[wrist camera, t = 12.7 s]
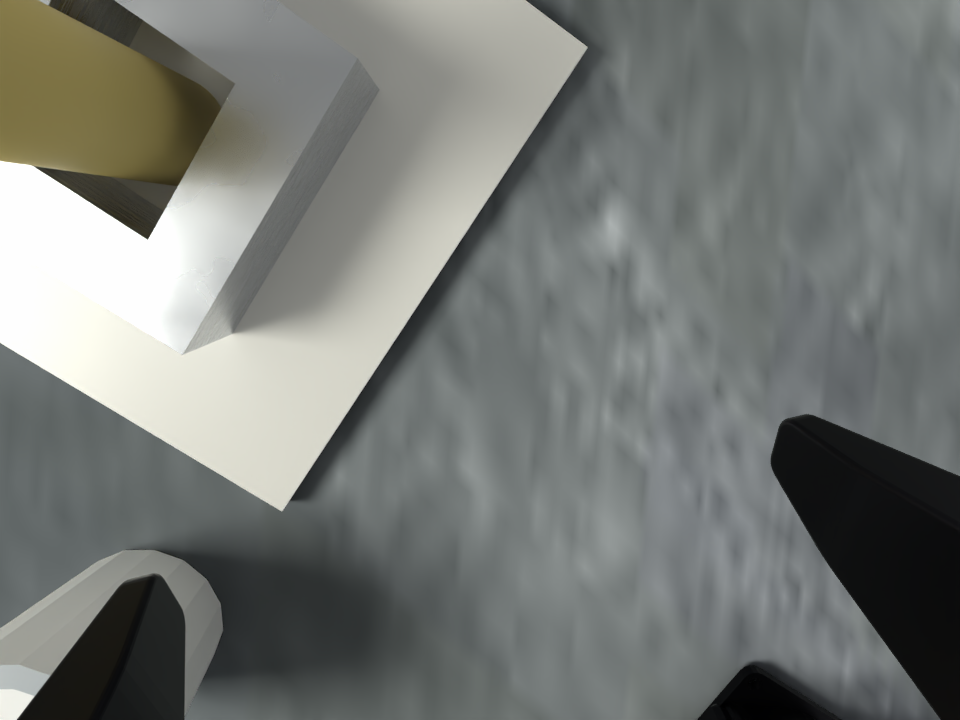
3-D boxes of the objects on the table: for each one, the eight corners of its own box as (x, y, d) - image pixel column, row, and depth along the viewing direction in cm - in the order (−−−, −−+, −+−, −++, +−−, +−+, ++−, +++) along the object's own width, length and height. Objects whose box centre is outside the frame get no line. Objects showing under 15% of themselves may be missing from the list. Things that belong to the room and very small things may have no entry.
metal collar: (379, 90, 19) (357, 58, 15) (232, 333, 20) (182, 354, 17) (111, -100, 17) (22, -181, 14) (-23, 172, 19) (-133, 160, 16)
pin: (232, 85, 18) (-304, -229, 6) (224, 194, 19) (-272, 127, 6) (125, 67, 18) (-666, -296, 6) (120, 177, 19) (-594, 75, 6)
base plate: (583, 54, 19) (587, 47, 18) (288, 501, 22) (282, 511, 21) (57, -341, 17) (36, -369, 16) (-190, 213, 20) (-217, 212, 19)
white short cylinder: (159, 499, 22) (16, 619, 15) (276, 638, 23) (193, 808, 16) (17, 595, 23) (-179, 751, 16) (138, 726, 24) (3, 922, 17)
